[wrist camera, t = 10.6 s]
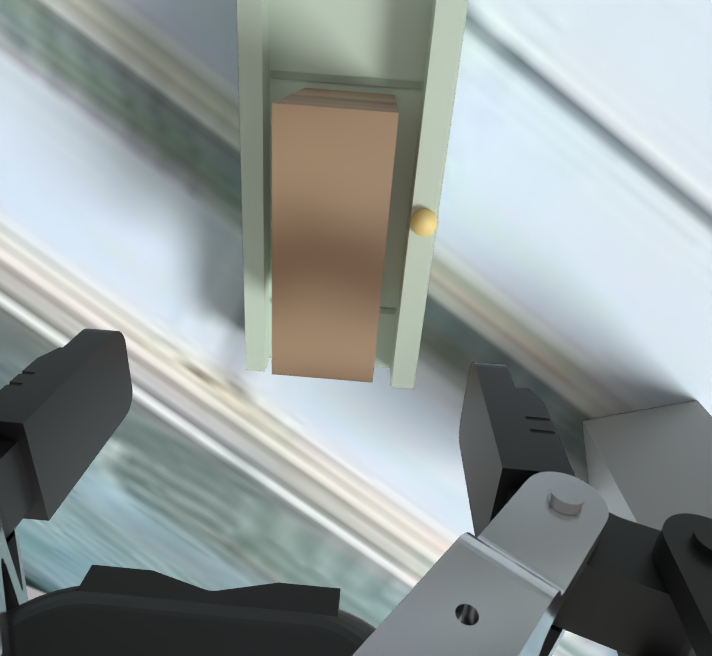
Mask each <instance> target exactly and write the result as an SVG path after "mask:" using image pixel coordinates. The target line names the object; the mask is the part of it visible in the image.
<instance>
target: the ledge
mask: <svg viewBox="0 0 712 656" xmlns="http://www.w3.org/2000/svg"><path fill="white" fill-rule="evenodd" d="M467 5H468V0H237V38H238V77H239V115H240V154H241V192H242V230H243V269H244V307H245V346H246V370H250V371H262V372H265V369H266V367H267V364H268V361H269V359H270V358H272V103H273V102H275V101H277V100H279V99H281V98H284V97H286V96H288V95H290V94H292V93H295V92H297V91H299V90H301V89H303V88H312V89H325V90H338V91H350V92H363V93H376V94H388V95H394V96H395V100H396V104H397V108H398V112H399V116H398V126H397V137H396V147H395V157H394V167H393V177H392V188H391V198H390V208H389V218H388V228H387V239H386V249H385V259H384V269H383V279H382V289H381V300H380V310H379V320H378V330H377V340H376V351H375V361H374V366H375V367H387V368H391V387H393V388H405V389H414V383H415V376H416V369H417V362H418V355H419V348H420V341H421V333H422V326H423V319H424V312H425V305H426V298H427V291H428V283H429V276H430V269H431V262H432V255H433V248H434V241H435V234H436V228H437V225H438V221H437V219H438V212H439V205H440V198H441V191H442V184H443V177H444V169H445V162H446V155H447V148H448V141H449V134H450V127H451V120H452V112H453V105H454V98H455V91H456V84H457V77H458V70H459V63H460V55H461V48H462V41H463V34H464V27H465V20H466V13H467Z"/></svg>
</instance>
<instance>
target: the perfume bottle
mask: <svg viewBox="0 0 712 656" xmlns="http://www.w3.org/2000/svg"><path fill="white" fill-rule="evenodd" d="M582 423H583V433H584V443H585V453H586V463H587V473H588V483H589V485H590V486H592V487H593V488H594V489H595V490H596V491H598V492H599V494H600V495H601V496H602V497H603V499H604V500H605V502H606V504H607V506H608V511H609V512H610V513H612V514H614V515H616V516H618V517H621V518H624V519H626V520H629V521H633V522H636V523H639V524H642V525H645V526H648V527H651V528H654V529H657V530H660V531H661V529H662V527H663V524H664V522H665V521H666V520H667V519H668V518H669V517H671V516H673V515H676V514H682V513H688V514H696V515H701V516H704V517H708V518H710V519H712V416H711V415H710V414H709V413H708V412H707V411H706V410H705V409H704V407H703V406H702V405H701V404H700V403H699V402H698V401H691V402H685V403H680V404H674V405H669V406H663V407H657V408H652V409H646V410H640V411H635V412H629V413H624V414H618V415H612V416H607V417H601V418H595V419H590V420H584V421H582Z"/></svg>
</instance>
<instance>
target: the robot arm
mask: <svg viewBox="0 0 712 656" xmlns="http://www.w3.org/2000/svg"><path fill="white" fill-rule="evenodd" d="M131 401H132V384H131V377H130V370H129V363H128V356H127V350H126V343H125V339H124V336H123V334H122V333H121V332H119V331H111V330H99V329H84V330H82V331H81V332H80V333H79V334H78V335H77V336H75V337H74V338H73V339H72V340H71V341H70V342H69V343H68V344H67V345H65V346H64V347H63V348H61V347H60V348H57V349H55V350H53V351H51V352H49V353H47V354H45V355H43V356H41V357H39V358H37V359H36V360H35V361H34V362H32V363H31V364H30V365H29V366H28V367H27V368H25V369H24V370H23V371H22V374H18V375H17V376H16V377H15V378H14V379H13V380H11V381H10V384H9V385H6V386H4V387H3V388H2V389H1V390H0V656H552V654H553V653H554V651H555V649H556V647H557V645H558V644H559V642H560V640H561V638H562V636H563V635H564V633H565V631H566V630H567V631H569V632H572V633H574V634H577V635H579V636H582V637H584V638H587V639H589V640H592V641H594V642H597V643H599V644H602V645H604V646H607V647H609V648H612V649H614V650H617V653H618V656H712V519H710V518H708V517H704V516H701V515H696V514H688V513H682V514H676V515H673V516H671V517H669V518H668V519H667V520H666V521H665V522H664V524H663V527H662V529H661V531H660V530H657V529H654V528H651V527H648V526H645V525H642V524H639V523H636V522H633V521H629V520H626V519H624V518H621V517H618V516H616V515H614V514H612V513H610V512H609V511H608V506H607V504H606V502H605V500H604V499H603V497H602V496H601V495H600V494H599V492H598V491H596V490H595V489H594V488H593V487H592V486H590V485H589V484H588V483H586V482H584V481H582V480H581V479H578V478H576V477H575V475H574V472H573V470H572V468H571V465H570V463H569V461H568V458H567V456H566V454H565V451H564V449H563V447H562V444H561V442H560V440H559V437H558V435H556V431H555V428H554V426H553V424H552V422H551V421H550V417H549V414H548V412H547V410H546V407H545V405H544V403H543V402H542V401H541V400H540V399H539V398H538V397H537V396H536V395H535V394H534V393H532V392H531V391H530V390H529V389H526V388H515V387H514V384H513V382H512V379H511V376H510V373H509V371H508V368H507V366H506V365H499V364H487V363H476V362H473V363H472V364H471V367H470V371H469V376H468V381H467V386H466V392H465V397H464V403H463V408H462V413H461V419H460V429H459V443H460V450H461V456H462V462H463V468H464V474H465V480H466V485H467V491H468V497H469V503H470V509H471V515H472V521H473V527H474V532H475V536H474V535H472V534H471V533H468V532H467V533H464V534H463V535H461V536H460V537H459V538H458V539H457V540H456V541H455V542H454V543H453V545H452V546H451V547H450V548H449V549H448V550H447V551H446V552H445V553H444V555H443V556H442V557H441V558H440V559H439V560H438V561H437V562H436V563H435V564H434V566H433V567H432V568H431V569H430V570H429V571H428V572H427V573H426V574H425V576H424V577H423V578H422V579H421V580H420V581H419V582H418V583H417V584H416V585H415V587H414V588H413V589H412V590H411V591H410V592H409V593H408V594H407V595H406V597H405V598H404V599H403V600H402V601H401V602H400V603H399V604H398V605H397V606H396V608H395V609H394V610H393V611H392V612H391V613H390V614H389V615H388V616H387V618H386V619H385V620H384V621H383V622H382V623H381V624H380V625H379V626H378V628H377V629H376V628H375V627H373V626H372V625H370V624H369V623H367V622H366V621H364V620H362V619H360V618H358V617H356V616H355V615H353V614H351V613H348V612H345V611H343V610H340V609H339V600H340V589H339V588H328V587H318V586H308V585H297V584H287V583H273V584H265V585H258V586H250V587H243V588H235V589H227V590H220V591H208V590H205V589H202V588H199V587H196V586H193V585H191V584H188V583H185V582H183V581H180V580H177V579H174V578H172V577H169V576H166V575H163V574H161V573H158V572H155V571H152V570H142V569H131V568H121V567H110V566H100V565H92V566H91V568H90V569H89V571H88V573H87V574H86V576H85V578H84V580H83V581H82V583H81V585H80V586H75V587H70V588H65V589H61V590H57V591H54V592H51V593H48V594H44V595H42V596H39V597H36V598H34V599H32V600H30V601H28V596H27V589H26V583H25V576H24V570H23V563H22V557H21V550H20V544H19V538H18V535H17V532H16V527H17V525H18V524H19V523H20V521H21V520H22V519H23V518H26V519H36V520H47V521H49V520H50V519H51V517H52V516H53V514H54V513H55V512H56V510H57V509H58V508H59V506H60V505H61V504H62V502H63V501H64V499H65V498H66V497H67V495H68V494H69V493H70V491H71V490H72V489H73V487H74V486H75V484H76V483H77V482H78V480H79V479H80V478H81V476H82V475H83V474H84V472H85V471H86V470H87V468H88V467H89V465H90V464H91V463H92V461H93V460H94V459H95V457H96V456H97V455H98V453H99V452H100V450H101V449H102V448H103V446H104V445H105V444H106V442H107V441H108V440H109V438H110V437H111V436H112V434H113V433H114V431H115V430H116V429H117V427H118V426H119V425H120V423H121V422H122V421H123V419H124V418H125V416H126V415H127V413H128V411H129V409H130V405H131Z"/></svg>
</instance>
